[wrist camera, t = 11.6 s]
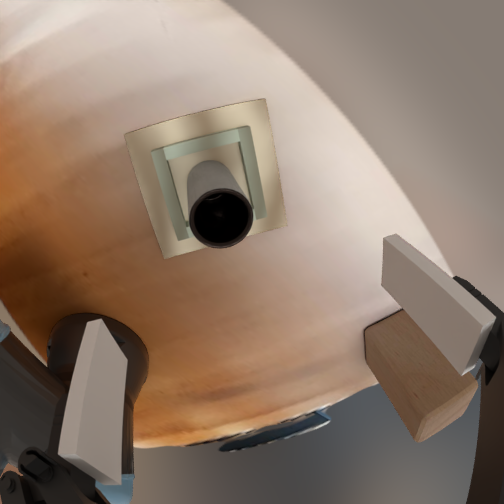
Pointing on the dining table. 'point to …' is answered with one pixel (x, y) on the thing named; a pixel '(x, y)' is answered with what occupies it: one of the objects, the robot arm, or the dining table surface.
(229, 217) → the grey hollow tube
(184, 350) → the dining table surface
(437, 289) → the robot arm
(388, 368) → the block
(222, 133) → the stand
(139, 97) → the dining table surface
